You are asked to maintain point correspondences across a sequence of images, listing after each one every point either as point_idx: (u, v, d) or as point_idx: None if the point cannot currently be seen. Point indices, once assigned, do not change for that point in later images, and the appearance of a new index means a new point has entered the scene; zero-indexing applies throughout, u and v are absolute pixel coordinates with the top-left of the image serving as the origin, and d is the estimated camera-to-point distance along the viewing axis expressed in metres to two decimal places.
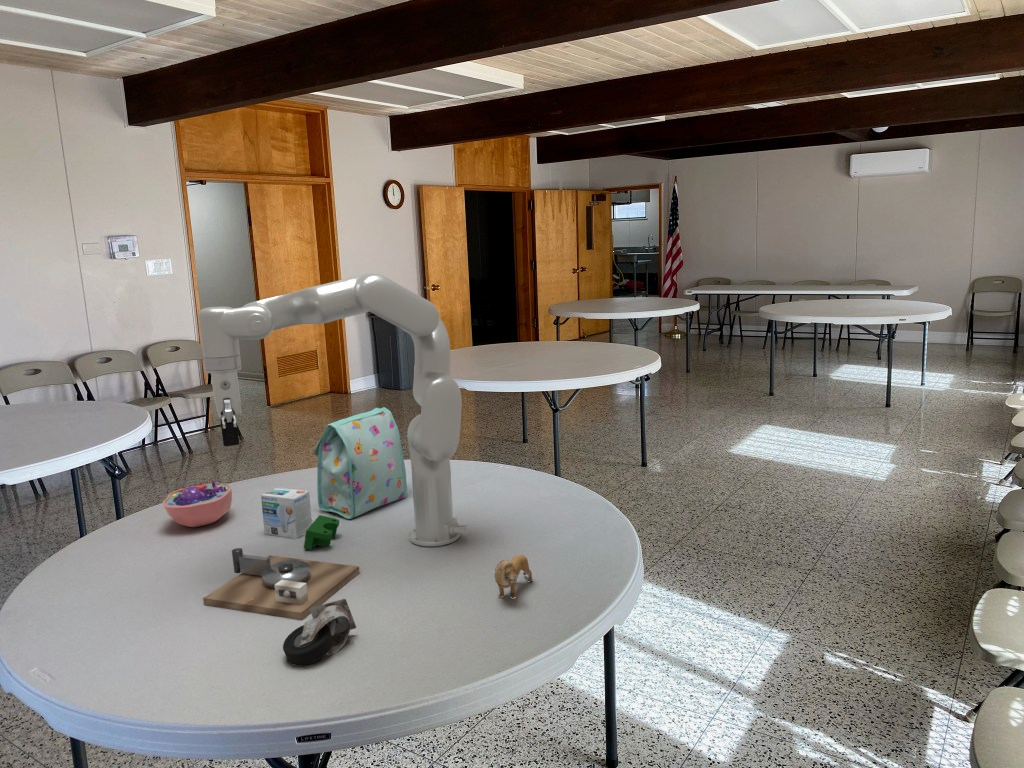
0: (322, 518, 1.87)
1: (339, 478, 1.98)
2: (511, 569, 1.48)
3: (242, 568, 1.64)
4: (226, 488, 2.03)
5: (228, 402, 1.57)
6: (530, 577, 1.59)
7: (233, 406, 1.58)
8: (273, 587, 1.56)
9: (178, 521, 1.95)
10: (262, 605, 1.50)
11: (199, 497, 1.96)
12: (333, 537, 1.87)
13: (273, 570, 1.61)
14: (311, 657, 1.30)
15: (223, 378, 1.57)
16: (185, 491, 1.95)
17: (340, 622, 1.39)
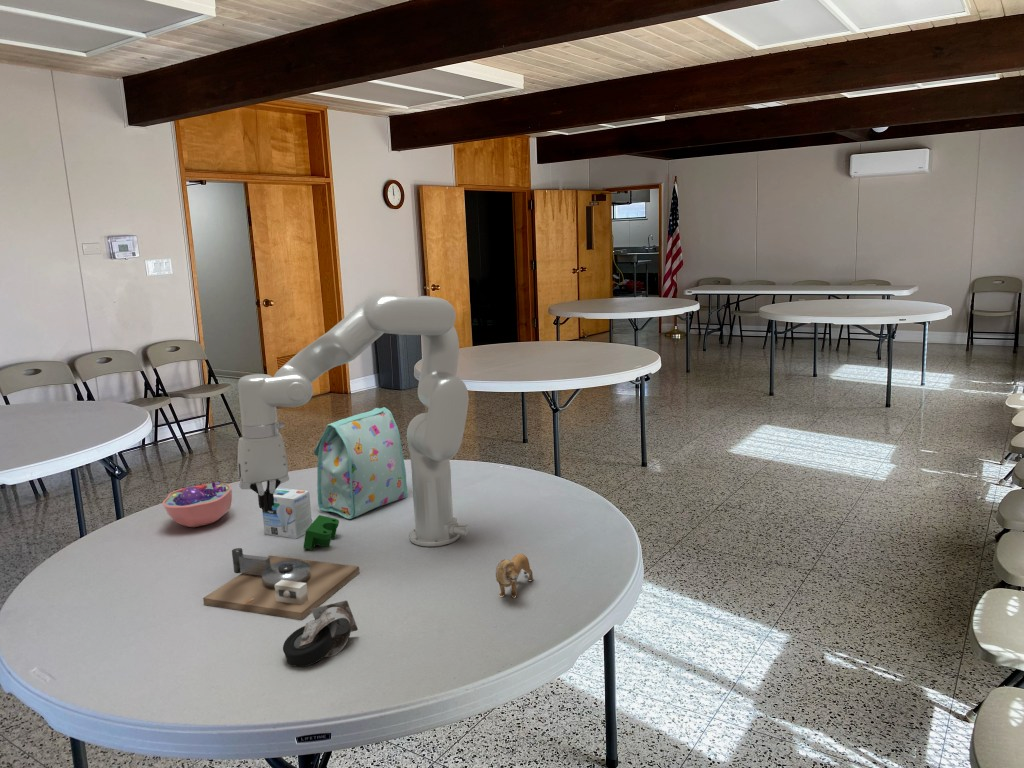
0: (322, 518, 1.87)
1: (339, 478, 1.98)
2: (512, 568, 1.49)
3: (242, 568, 1.64)
4: (226, 488, 2.03)
5: None
6: (531, 576, 1.60)
7: None
8: (273, 587, 1.56)
9: (178, 521, 1.95)
10: (262, 605, 1.50)
11: (199, 497, 1.96)
12: (333, 537, 1.87)
13: (273, 570, 1.61)
14: (310, 658, 1.29)
15: None
16: (185, 491, 1.95)
17: (341, 624, 1.38)
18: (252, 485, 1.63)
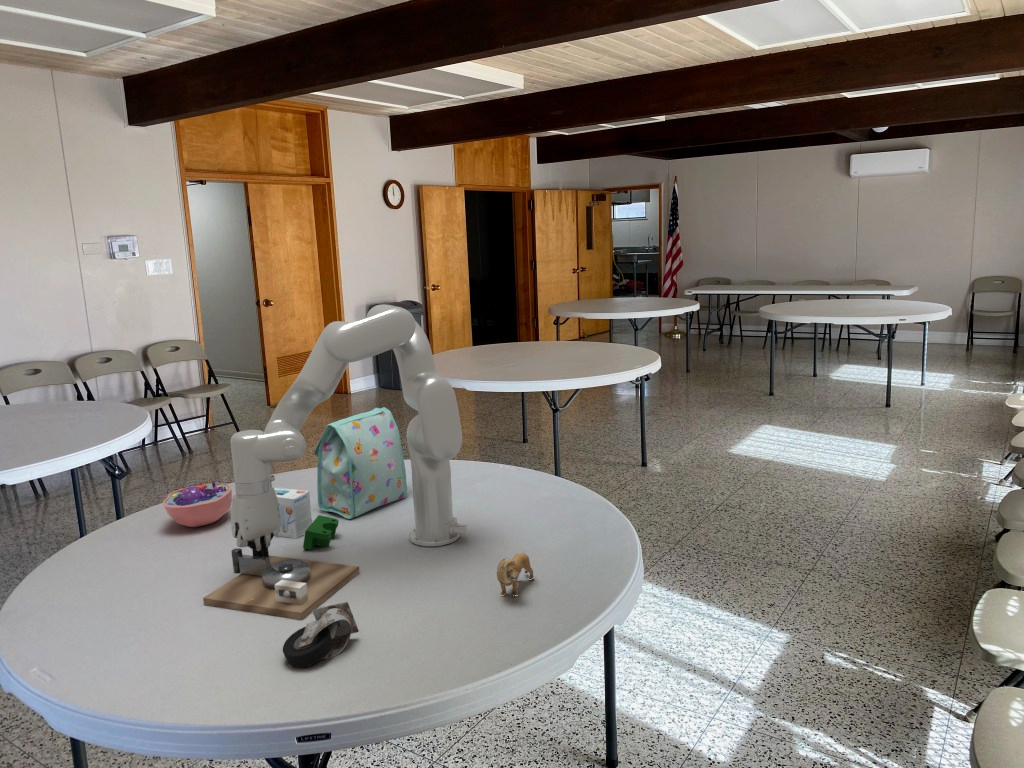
0: (321, 518, 1.87)
1: (339, 478, 1.98)
2: (513, 567, 1.49)
3: (242, 568, 1.64)
4: (226, 488, 2.03)
5: None
6: (531, 575, 1.60)
7: None
8: (273, 587, 1.56)
9: (178, 521, 1.95)
10: (262, 605, 1.50)
11: (199, 497, 1.96)
12: (332, 537, 1.87)
13: (273, 570, 1.61)
14: (309, 660, 1.29)
15: None
16: (185, 491, 1.95)
17: (342, 625, 1.37)
18: (250, 542, 1.63)
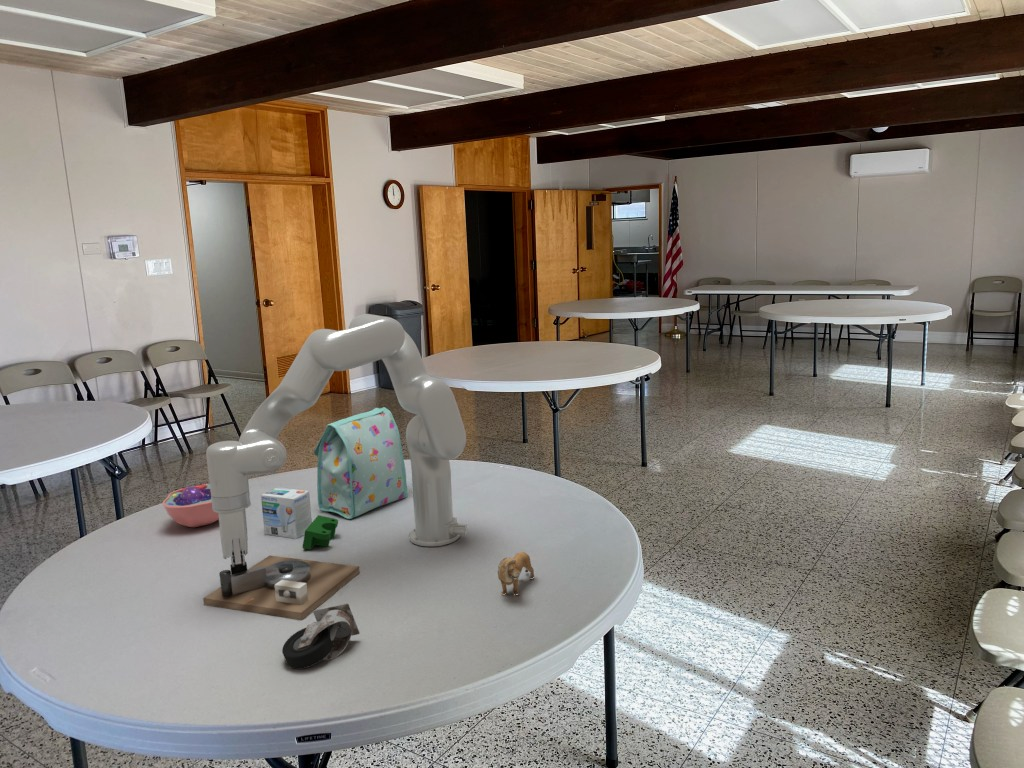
0: (321, 518, 1.87)
1: (339, 478, 1.98)
2: (514, 566, 1.49)
3: (235, 588, 1.54)
4: None
5: None
6: (532, 574, 1.61)
7: None
8: None
9: (178, 521, 1.95)
10: (262, 605, 1.50)
11: (199, 497, 1.96)
12: (332, 537, 1.87)
13: (275, 575, 1.59)
14: (307, 661, 1.28)
15: None
16: (185, 491, 1.95)
17: (343, 627, 1.37)
18: (241, 557, 1.55)
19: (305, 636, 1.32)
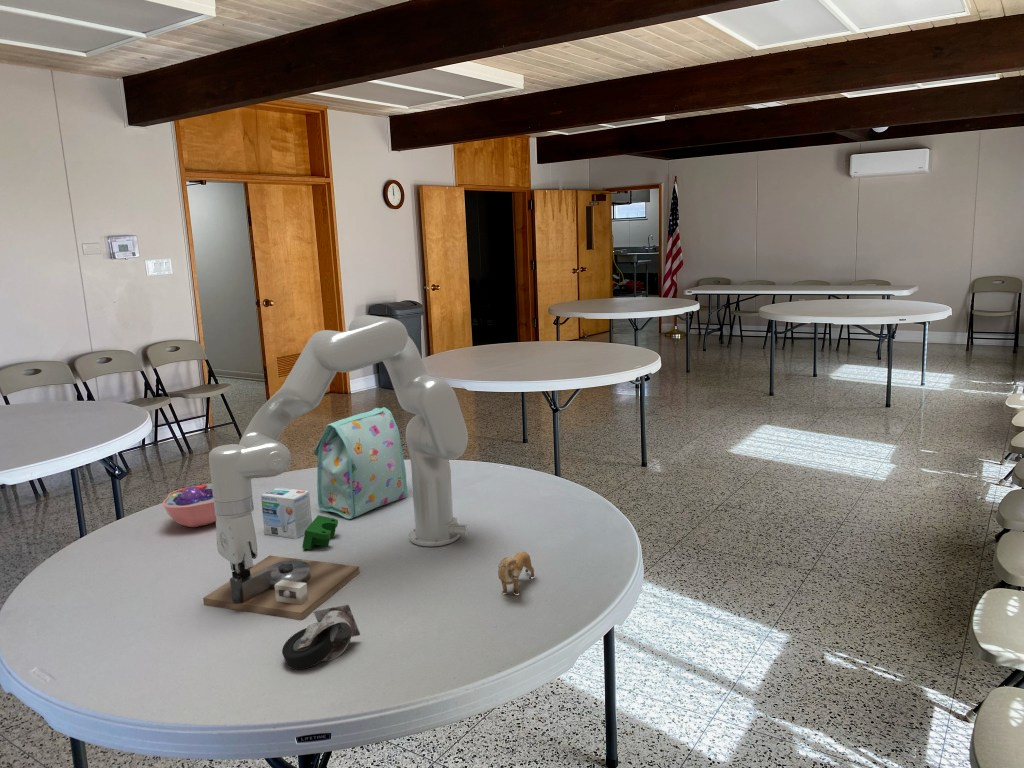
0: (321, 518, 1.87)
1: (339, 478, 1.98)
2: (515, 566, 1.50)
3: (246, 593, 1.52)
4: None
5: None
6: (532, 574, 1.61)
7: None
8: (303, 581, 1.59)
9: (178, 521, 1.95)
10: (262, 605, 1.50)
11: (199, 497, 1.96)
12: (332, 537, 1.87)
13: (279, 575, 1.58)
14: (306, 662, 1.28)
15: None
16: (185, 491, 1.95)
17: (343, 628, 1.36)
18: None
19: (305, 637, 1.32)
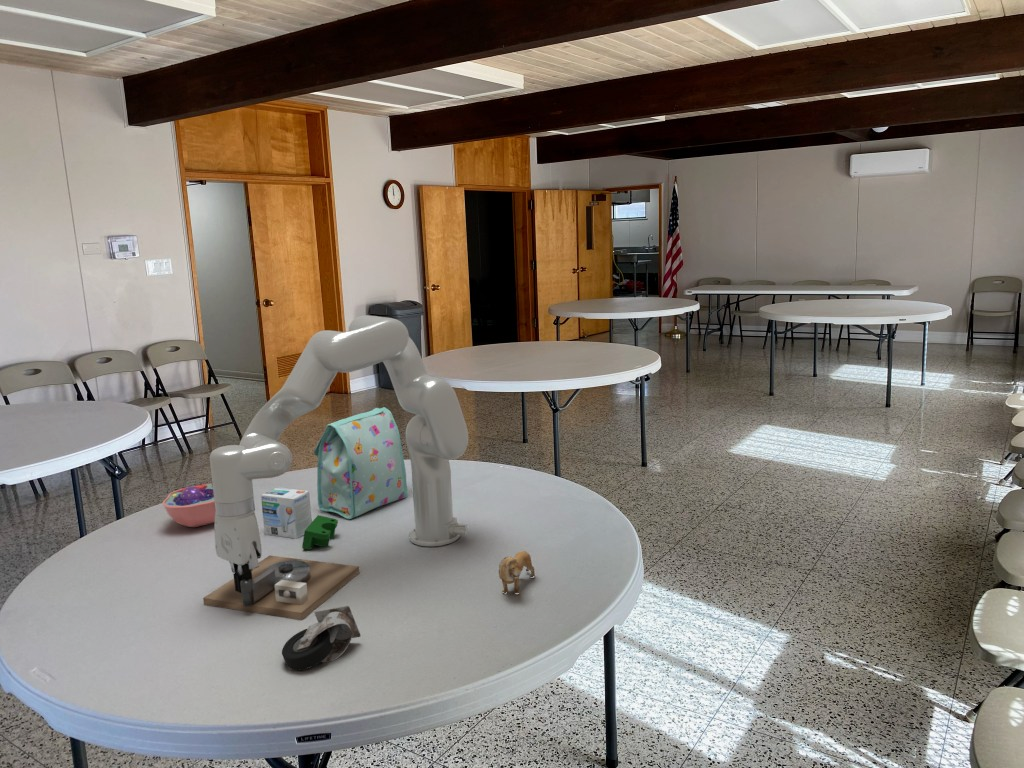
0: (320, 518, 1.87)
1: (339, 478, 1.98)
2: (515, 565, 1.50)
3: (255, 595, 1.51)
4: None
5: None
6: (533, 573, 1.61)
7: None
8: (306, 579, 1.60)
9: (178, 521, 1.95)
10: (262, 605, 1.50)
11: (199, 497, 1.96)
12: (331, 537, 1.87)
13: (282, 575, 1.58)
14: (305, 663, 1.28)
15: None
16: (185, 491, 1.95)
17: (344, 629, 1.36)
18: None
19: (305, 637, 1.31)
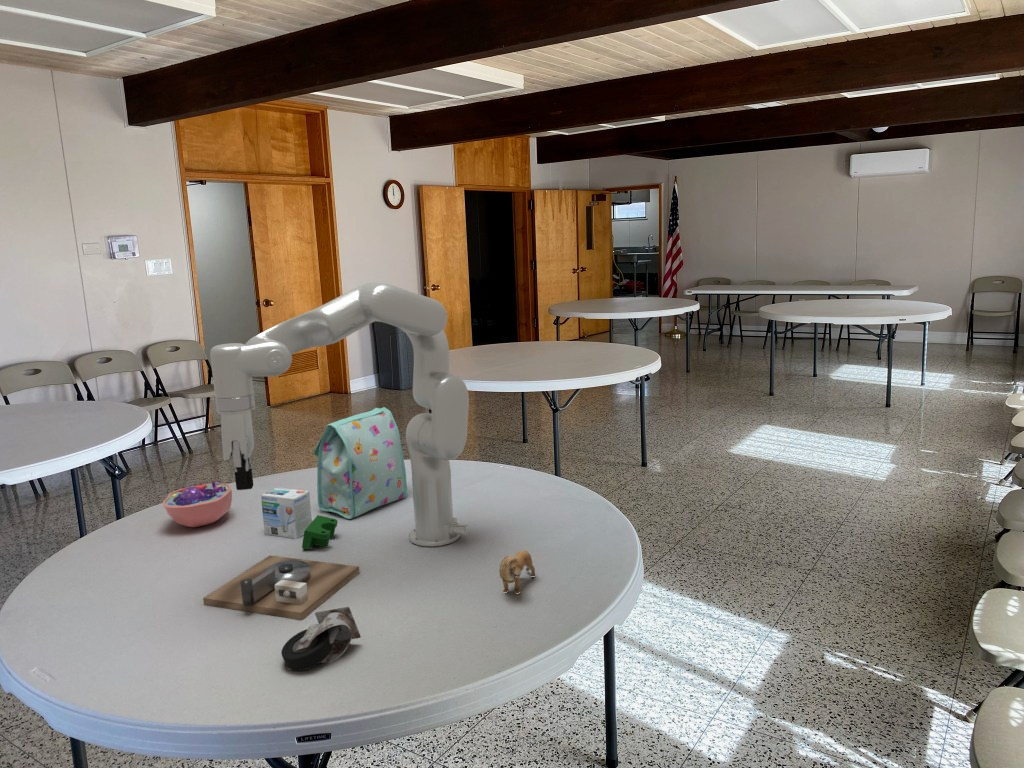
0: (320, 518, 1.87)
1: (339, 478, 1.98)
2: (516, 564, 1.50)
3: (255, 595, 1.51)
4: (226, 488, 2.03)
5: None
6: (533, 573, 1.61)
7: None
8: (306, 579, 1.60)
9: (178, 521, 1.95)
10: (262, 605, 1.50)
11: (199, 497, 1.96)
12: (331, 537, 1.87)
13: (282, 575, 1.58)
14: (304, 664, 1.28)
15: None
16: (185, 491, 1.95)
17: (344, 630, 1.36)
18: (243, 462, 1.53)
19: (304, 638, 1.31)
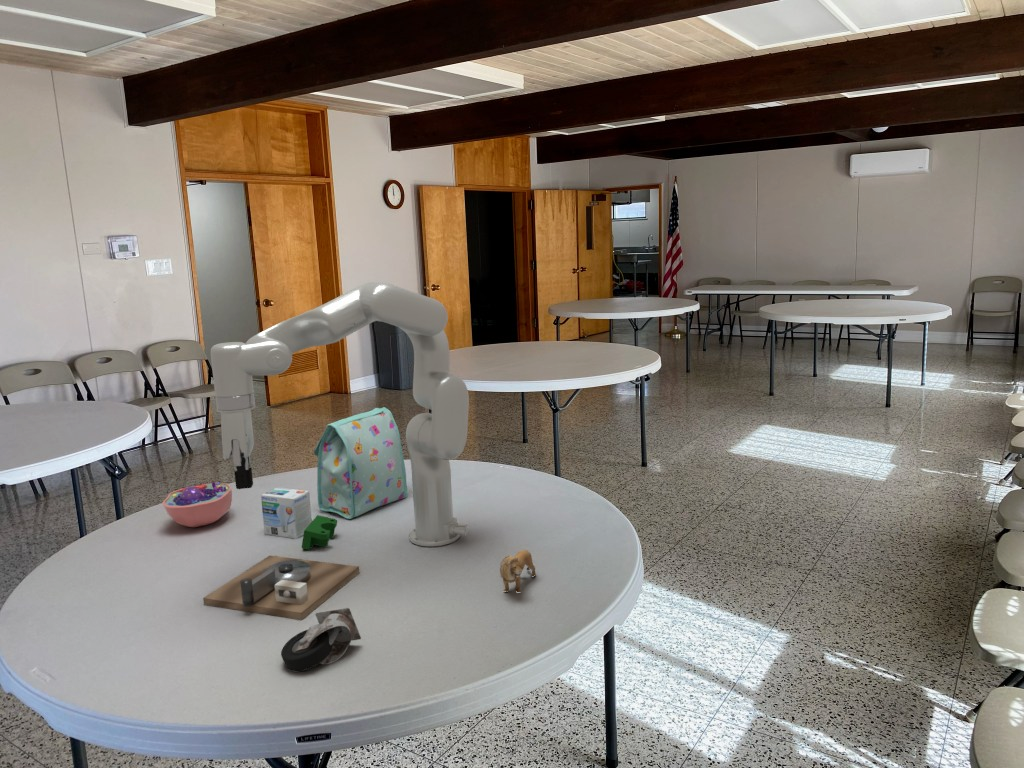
0: (320, 518, 1.87)
1: (339, 478, 1.98)
2: (517, 564, 1.51)
3: (255, 595, 1.51)
4: (226, 488, 2.03)
5: None
6: (534, 572, 1.62)
7: None
8: (306, 579, 1.60)
9: (178, 521, 1.95)
10: (262, 605, 1.50)
11: (199, 497, 1.96)
12: (331, 537, 1.87)
13: (282, 575, 1.58)
14: (303, 664, 1.27)
15: None
16: (185, 491, 1.95)
17: (344, 631, 1.35)
18: (243, 461, 1.53)
19: (304, 639, 1.31)
